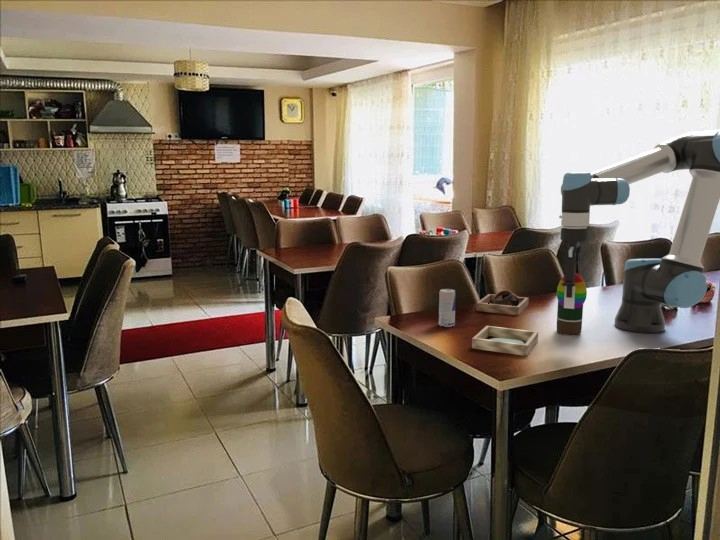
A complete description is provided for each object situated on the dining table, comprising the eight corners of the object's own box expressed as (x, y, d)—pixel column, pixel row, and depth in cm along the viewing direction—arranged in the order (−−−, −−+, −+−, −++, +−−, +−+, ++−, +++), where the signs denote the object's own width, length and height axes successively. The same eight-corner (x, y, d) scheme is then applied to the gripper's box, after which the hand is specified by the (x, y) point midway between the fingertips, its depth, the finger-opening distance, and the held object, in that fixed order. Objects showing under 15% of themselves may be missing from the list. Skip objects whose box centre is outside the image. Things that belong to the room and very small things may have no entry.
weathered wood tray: (528, 305, 228) (528, 297, 228) (518, 315, 213) (518, 307, 212) (488, 301, 235) (488, 293, 234) (476, 310, 220) (476, 302, 219)
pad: (527, 342, 180) (527, 340, 180) (520, 352, 170) (520, 350, 170) (492, 337, 185) (492, 335, 185) (482, 347, 175) (482, 345, 175)
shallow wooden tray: (537, 341, 181) (538, 331, 181) (527, 355, 167) (527, 345, 167) (486, 334, 188) (486, 325, 188) (471, 348, 174) (472, 338, 174)
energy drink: (456, 324, 201) (457, 289, 199) (452, 328, 196) (453, 292, 194) (441, 322, 203) (442, 288, 201) (436, 326, 198) (437, 291, 196)
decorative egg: (552, 303, 177) (553, 270, 175) (579, 302, 177) (580, 269, 175) (562, 309, 169) (563, 275, 167) (590, 308, 169) (592, 274, 167)
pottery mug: (525, 313, 218) (516, 295, 215) (501, 323, 220) (492, 305, 217) (518, 298, 229) (510, 281, 226) (495, 308, 231) (487, 291, 228)
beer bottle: (578, 337, 185) (583, 261, 181) (553, 333, 189) (557, 259, 185) (583, 331, 192) (588, 258, 188) (559, 328, 196) (563, 256, 192)
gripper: (566, 223, 180) (563, 296, 184) (555, 230, 161) (551, 311, 165) (592, 223, 176) (588, 298, 180) (584, 231, 158) (580, 314, 162)
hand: (571, 304), depth 173 cm, fingers closed on decorative egg, 8 cm apart
